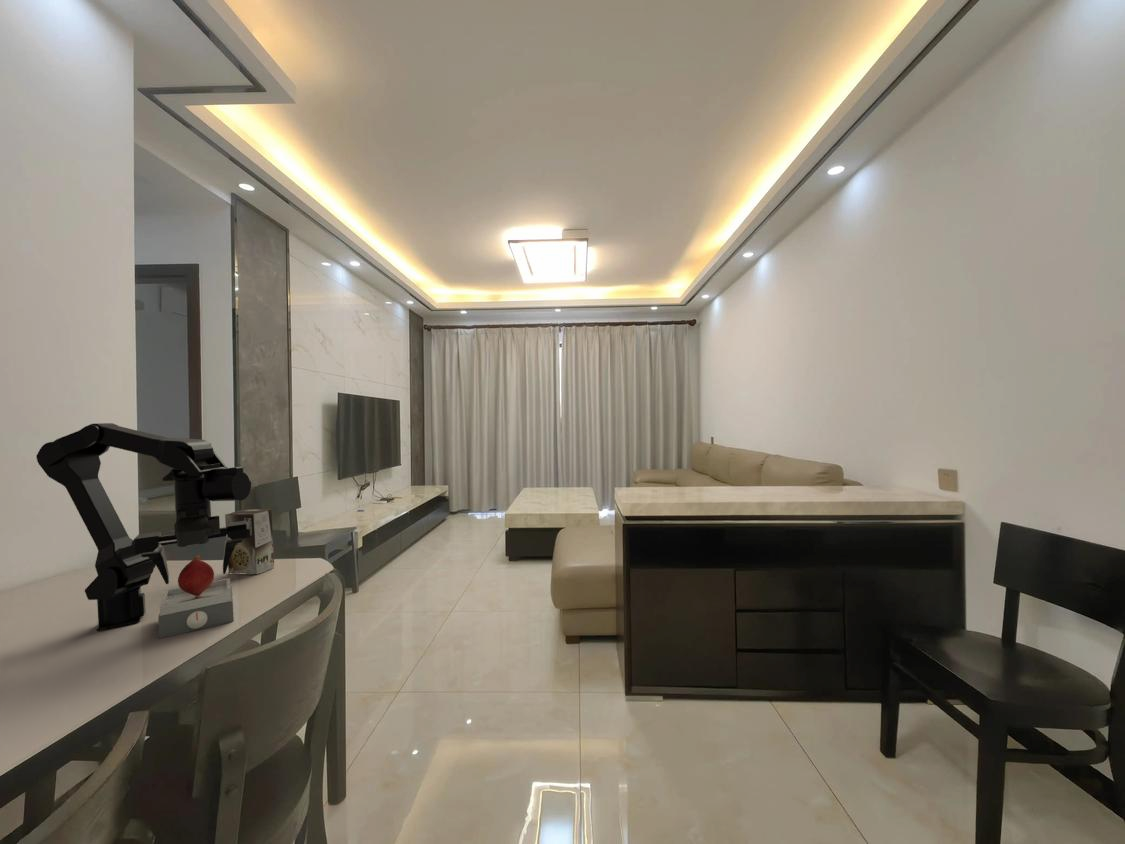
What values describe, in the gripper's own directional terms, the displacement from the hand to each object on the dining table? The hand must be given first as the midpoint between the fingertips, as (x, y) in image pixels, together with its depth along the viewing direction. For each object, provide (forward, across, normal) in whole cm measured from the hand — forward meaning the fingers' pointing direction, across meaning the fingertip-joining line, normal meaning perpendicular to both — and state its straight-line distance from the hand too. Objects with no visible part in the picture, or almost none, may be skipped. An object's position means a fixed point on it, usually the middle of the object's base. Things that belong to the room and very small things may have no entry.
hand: (196, 578), depth 98 cm
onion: (+4, 0, 0) cm, 4 cm away
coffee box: (+9, +10, +31) cm, 34 cm away
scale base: (+8, 0, 0) cm, 8 cm away
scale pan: (+4, 0, 0) cm, 4 cm away
